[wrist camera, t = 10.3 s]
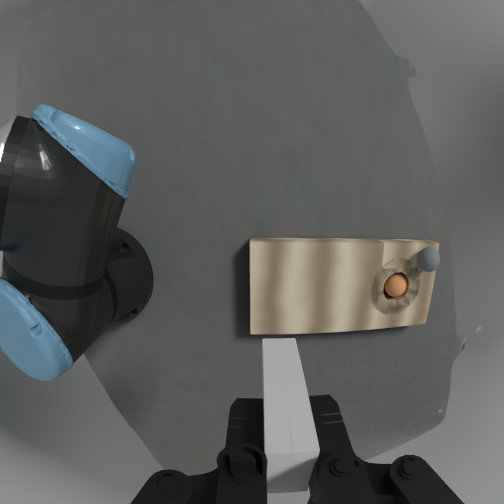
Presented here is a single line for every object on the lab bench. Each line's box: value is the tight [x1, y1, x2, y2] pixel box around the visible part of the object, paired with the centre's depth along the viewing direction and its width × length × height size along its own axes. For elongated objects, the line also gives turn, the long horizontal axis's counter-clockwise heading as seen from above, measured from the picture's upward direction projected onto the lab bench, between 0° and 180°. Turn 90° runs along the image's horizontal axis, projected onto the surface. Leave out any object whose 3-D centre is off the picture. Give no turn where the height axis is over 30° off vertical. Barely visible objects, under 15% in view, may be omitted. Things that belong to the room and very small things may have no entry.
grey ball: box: [417, 247, 440, 272], centre depth 33 cm, size 4×4×4 cm
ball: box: [384, 273, 406, 297], centre depth 37 cm, size 4×4×4 cm
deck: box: [250, 238, 439, 334], centre depth 38 cm, size 28×13×3 cm, turn 90°
